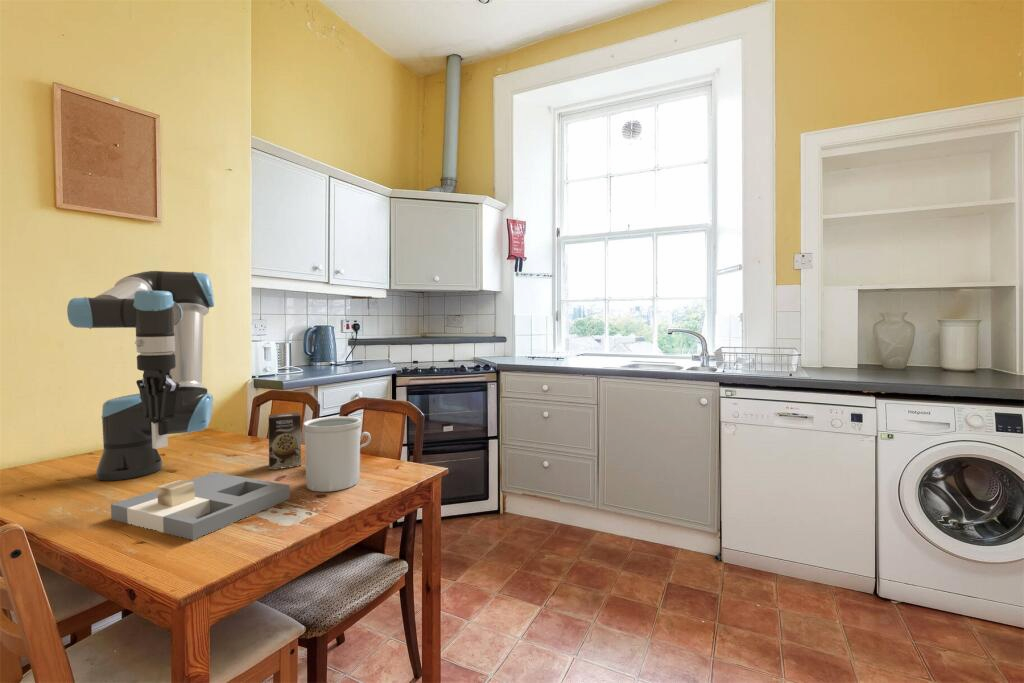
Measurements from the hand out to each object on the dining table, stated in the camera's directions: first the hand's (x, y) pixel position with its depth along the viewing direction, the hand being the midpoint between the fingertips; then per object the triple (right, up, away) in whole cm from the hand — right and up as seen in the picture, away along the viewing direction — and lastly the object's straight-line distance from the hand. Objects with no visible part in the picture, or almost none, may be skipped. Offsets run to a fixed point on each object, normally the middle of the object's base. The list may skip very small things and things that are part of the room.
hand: (160, 447), depth 114 cm
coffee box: (+17, -13, +29) cm, 36 cm away
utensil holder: (+38, -13, +13) cm, 43 cm away
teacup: (+36, -13, +30) cm, 48 cm away
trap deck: (+14, -14, -4) cm, 20 cm away
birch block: (+11, -11, -9) cm, 18 cm away
